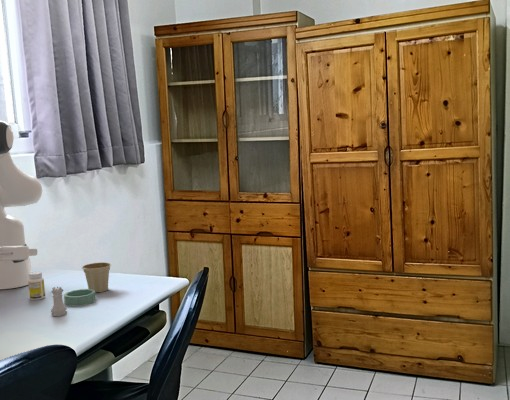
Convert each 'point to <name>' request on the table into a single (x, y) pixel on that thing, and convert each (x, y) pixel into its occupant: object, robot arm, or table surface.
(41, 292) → the supplement bottle
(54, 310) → the rook chess piece
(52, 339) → the table surface
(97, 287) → the flower pot
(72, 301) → the bowl
